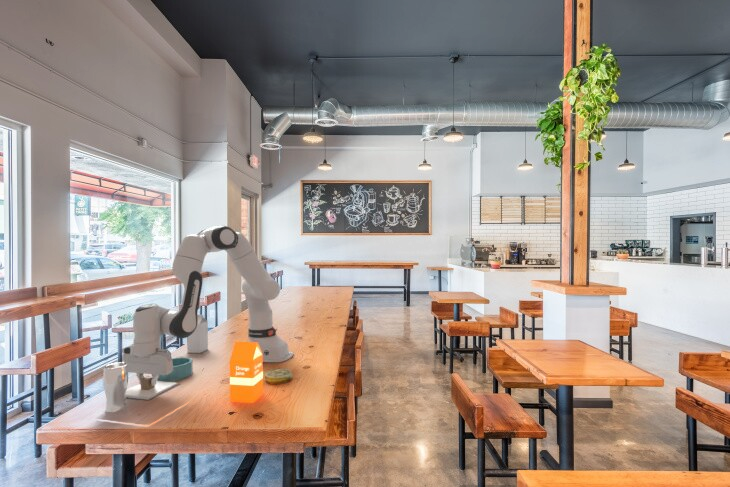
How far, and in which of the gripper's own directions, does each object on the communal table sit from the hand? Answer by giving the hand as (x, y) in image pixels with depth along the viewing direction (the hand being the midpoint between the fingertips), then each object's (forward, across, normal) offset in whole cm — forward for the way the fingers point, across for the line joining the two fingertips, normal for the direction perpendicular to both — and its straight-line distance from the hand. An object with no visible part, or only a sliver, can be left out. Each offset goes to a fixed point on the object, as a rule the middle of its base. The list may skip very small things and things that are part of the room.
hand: (147, 384), depth 138 cm
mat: (+3, 0, 0) cm, 3 cm away
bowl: (+3, +2, -16) cm, 16 cm away
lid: (+2, 0, 0) cm, 2 cm away
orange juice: (+3, -40, -3) cm, 40 cm away
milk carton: (+3, +18, -50) cm, 53 cm away
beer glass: (+3, -2, +15) cm, 15 cm away
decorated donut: (+3, -43, -21) cm, 48 cm away
